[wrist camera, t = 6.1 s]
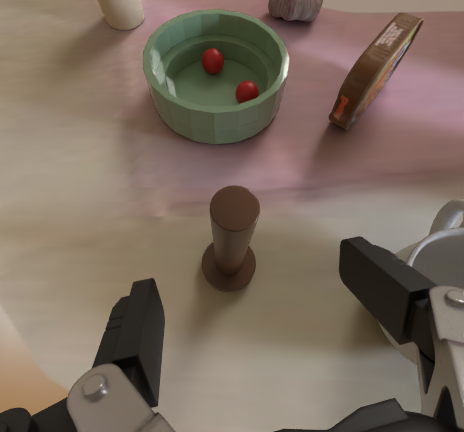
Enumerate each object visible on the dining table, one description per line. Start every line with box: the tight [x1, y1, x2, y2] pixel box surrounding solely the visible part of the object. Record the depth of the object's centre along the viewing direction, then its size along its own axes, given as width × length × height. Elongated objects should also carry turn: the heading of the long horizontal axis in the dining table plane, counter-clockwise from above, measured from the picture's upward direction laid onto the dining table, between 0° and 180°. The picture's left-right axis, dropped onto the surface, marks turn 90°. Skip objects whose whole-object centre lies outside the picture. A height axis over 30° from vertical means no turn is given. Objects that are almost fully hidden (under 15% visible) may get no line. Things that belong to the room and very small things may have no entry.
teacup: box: [378, 198, 464, 365], centre depth 21 cm, size 14×11×8 cm
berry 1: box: [202, 48, 224, 74], centre depth 33 cm, size 3×3×3 cm
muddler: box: [202, 186, 260, 292], centre depth 19 cm, size 5×5×14 cm
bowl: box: [143, 9, 289, 144], centre depth 31 cm, size 16×16×6 cm
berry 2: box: [235, 81, 259, 104], centre depth 31 cm, size 3×3×3 cm
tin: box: [329, 13, 424, 131], centre depth 30 cm, size 15×3×8 cm, turn 141°
